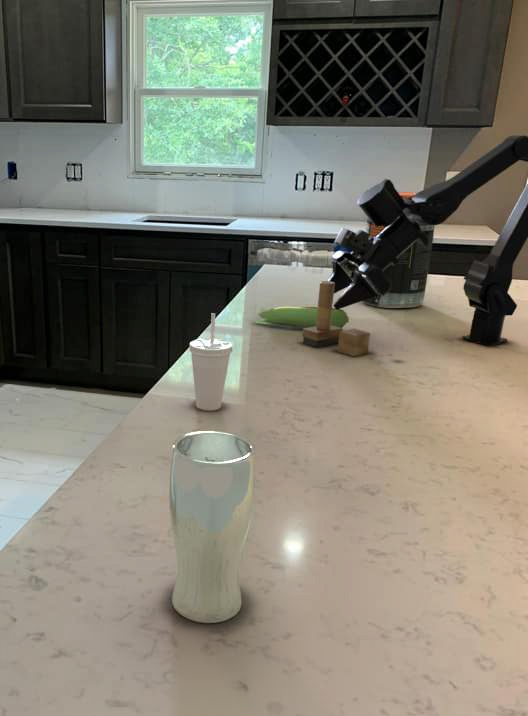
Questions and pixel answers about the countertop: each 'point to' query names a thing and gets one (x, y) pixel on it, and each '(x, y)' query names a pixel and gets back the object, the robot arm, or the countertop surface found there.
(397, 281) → the supplement tub
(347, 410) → the countertop surface
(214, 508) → the beer glass
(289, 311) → the edible corn
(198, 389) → the smoothie
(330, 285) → the brush
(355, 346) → the cork block
